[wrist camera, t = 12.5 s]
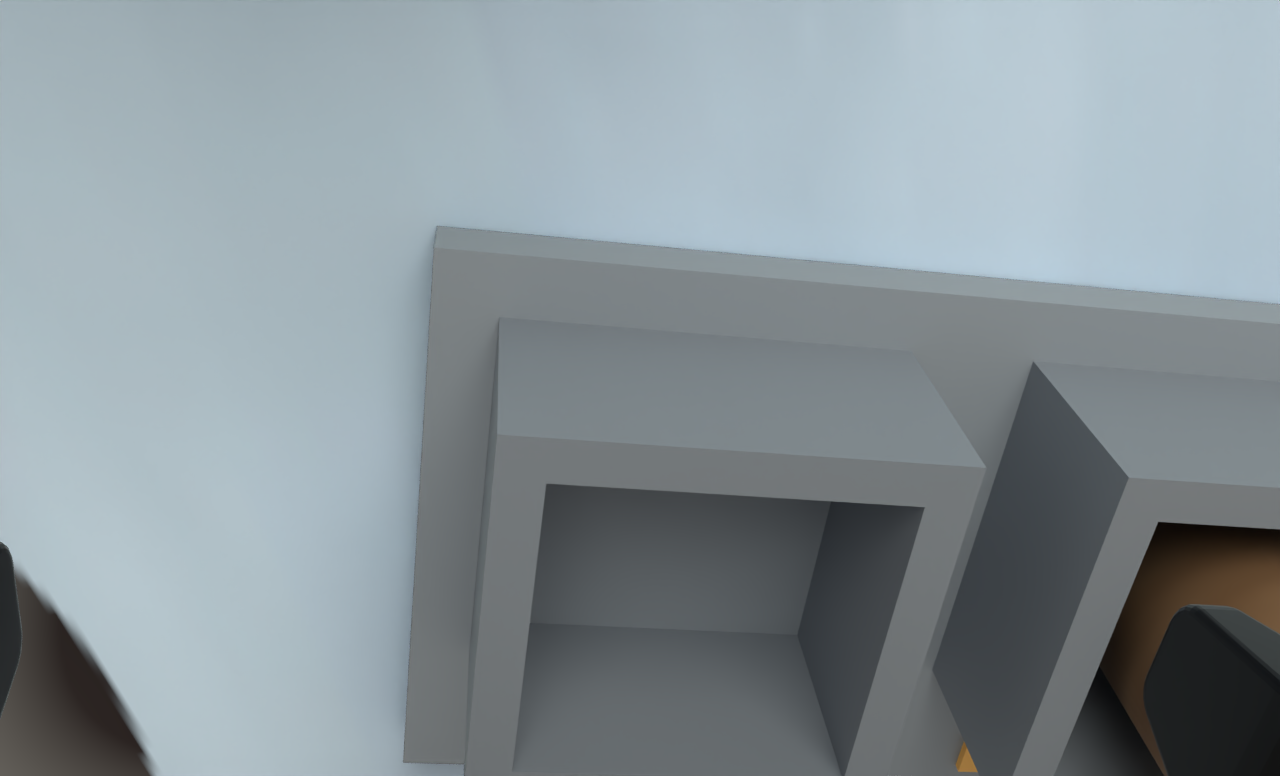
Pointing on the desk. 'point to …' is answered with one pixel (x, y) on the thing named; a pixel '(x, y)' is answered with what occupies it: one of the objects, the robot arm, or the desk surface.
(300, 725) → the desk surface
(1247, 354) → the socket block
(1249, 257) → the desk surface
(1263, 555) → the walnut peg
